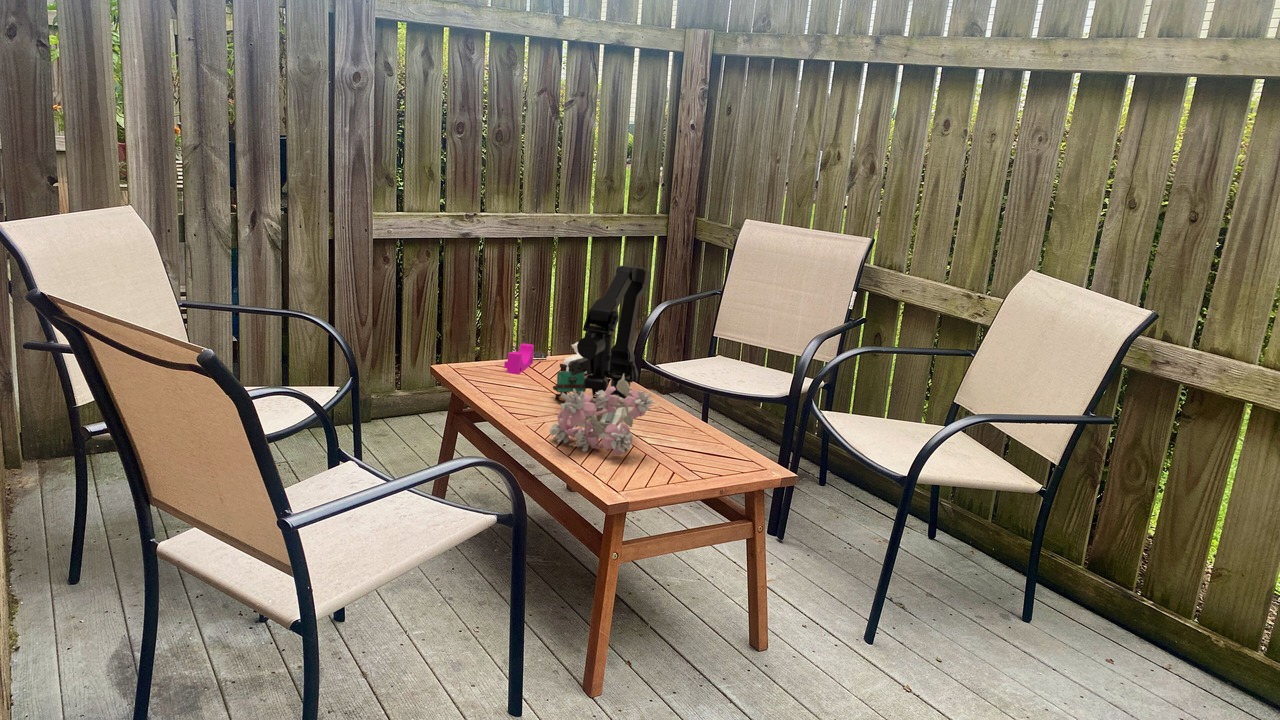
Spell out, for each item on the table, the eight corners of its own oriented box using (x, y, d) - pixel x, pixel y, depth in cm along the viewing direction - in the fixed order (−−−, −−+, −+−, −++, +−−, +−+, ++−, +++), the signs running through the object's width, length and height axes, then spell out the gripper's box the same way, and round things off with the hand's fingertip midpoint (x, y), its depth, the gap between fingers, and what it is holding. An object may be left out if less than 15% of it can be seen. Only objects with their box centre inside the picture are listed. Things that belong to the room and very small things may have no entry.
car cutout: (532, 368, 316) (533, 354, 314) (524, 363, 321) (524, 349, 320) (573, 365, 323) (574, 352, 322) (565, 360, 329) (566, 347, 328)
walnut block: (583, 414, 263) (584, 400, 262) (602, 416, 263) (603, 402, 262) (581, 419, 258) (582, 405, 257) (599, 421, 258) (601, 407, 257)
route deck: (569, 407, 275) (570, 390, 274) (625, 412, 275) (627, 395, 273) (555, 434, 251) (556, 415, 250) (617, 440, 250) (618, 422, 249)
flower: (671, 455, 248) (597, 491, 232) (613, 409, 260) (539, 440, 245) (685, 391, 237) (607, 424, 221) (624, 346, 249) (547, 375, 234)
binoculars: (579, 366, 286) (588, 362, 276) (579, 402, 285) (588, 400, 275) (549, 366, 283) (557, 362, 274) (549, 402, 282) (558, 400, 273)
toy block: (514, 364, 316) (515, 342, 315) (532, 367, 315) (534, 344, 314) (499, 375, 302) (500, 352, 300) (518, 378, 301) (519, 354, 299)
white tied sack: (567, 379, 303) (569, 344, 301) (559, 373, 310) (561, 339, 307) (602, 378, 308) (605, 344, 305) (594, 372, 315) (596, 338, 312)
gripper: (575, 340, 275) (572, 393, 279) (566, 356, 257) (562, 412, 261) (615, 343, 275) (611, 396, 279) (608, 360, 257) (604, 416, 261)
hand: (596, 405), depth 270 cm, fingers closed
